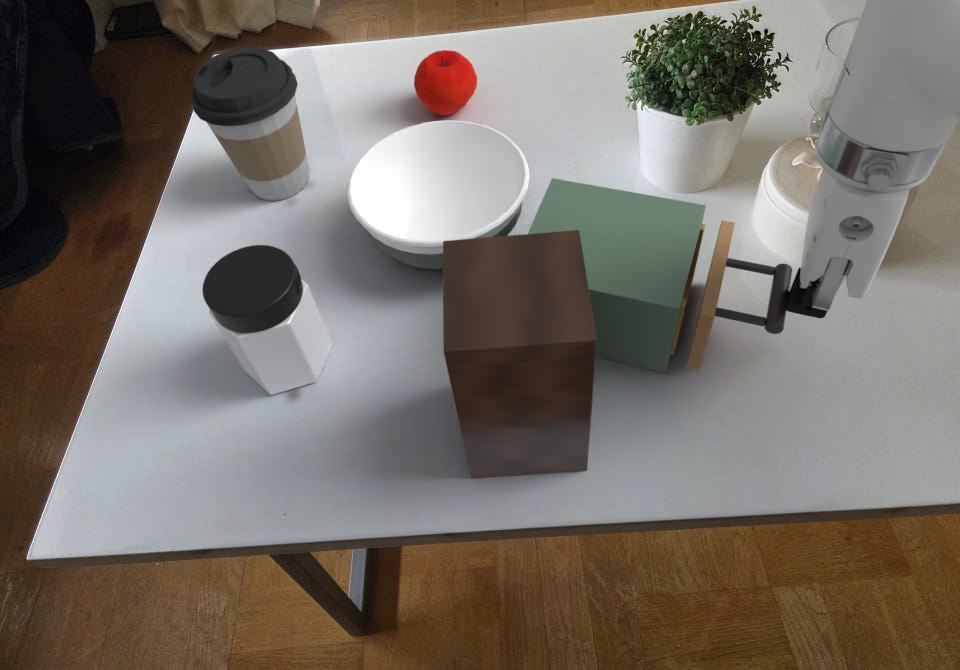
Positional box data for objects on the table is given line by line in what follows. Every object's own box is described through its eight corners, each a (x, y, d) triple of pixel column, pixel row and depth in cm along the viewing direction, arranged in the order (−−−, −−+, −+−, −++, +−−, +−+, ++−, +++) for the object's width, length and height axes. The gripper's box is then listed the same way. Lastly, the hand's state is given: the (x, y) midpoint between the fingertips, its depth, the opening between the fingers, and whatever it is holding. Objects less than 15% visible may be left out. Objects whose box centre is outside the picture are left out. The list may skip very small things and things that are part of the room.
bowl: (531, 297, 74) (529, 241, 68) (351, 301, 76) (332, 246, 69) (531, 174, 85) (529, 115, 79) (374, 179, 87) (359, 122, 80)
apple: (472, 130, 91) (466, 78, 85) (411, 126, 92) (401, 75, 87) (485, 91, 96) (480, 39, 90) (426, 88, 97) (418, 37, 91)
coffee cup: (252, 148, 92) (206, 39, 80) (337, 151, 91) (304, 41, 79) (219, 211, 86) (164, 103, 74) (311, 216, 84) (270, 106, 72)
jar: (349, 355, 72) (317, 275, 62) (284, 410, 69) (240, 334, 59) (294, 310, 76) (256, 228, 66) (230, 359, 73) (180, 280, 63)
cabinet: (690, 274, 74) (706, 204, 67) (665, 373, 67) (679, 308, 60) (552, 246, 78) (552, 177, 70) (515, 337, 71) (510, 272, 64)
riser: (574, 373, 68) (579, 229, 53) (587, 470, 62) (597, 339, 47) (468, 381, 69) (442, 240, 54) (470, 478, 63) (443, 351, 48)
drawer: (780, 290, 71) (802, 234, 65) (765, 385, 65) (787, 333, 59) (587, 251, 76) (589, 196, 70) (556, 336, 70) (556, 283, 64)
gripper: (941, 225, 44) (844, 388, 59) (941, 80, 52) (856, 255, 67) (809, 203, 46) (748, 365, 61) (829, 67, 54) (771, 239, 69)
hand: (805, 307), depth 64 cm, fingers closed
